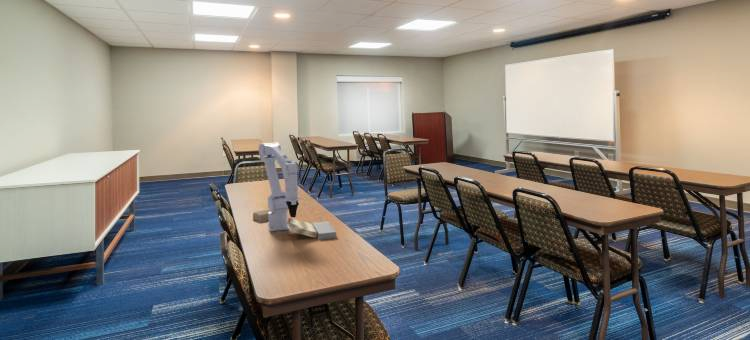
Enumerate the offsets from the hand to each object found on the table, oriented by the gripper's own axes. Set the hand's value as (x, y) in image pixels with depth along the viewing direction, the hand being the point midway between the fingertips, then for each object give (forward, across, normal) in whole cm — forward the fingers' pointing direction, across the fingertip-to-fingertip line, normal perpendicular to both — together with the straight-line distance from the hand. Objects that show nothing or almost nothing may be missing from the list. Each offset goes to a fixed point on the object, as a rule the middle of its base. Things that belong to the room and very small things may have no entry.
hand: (292, 216), depth 202 cm
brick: (+10, +39, +9) cm, 41 cm away
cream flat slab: (+7, 0, -4) cm, 8 cm away
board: (+9, 0, -14) cm, 17 cm away
